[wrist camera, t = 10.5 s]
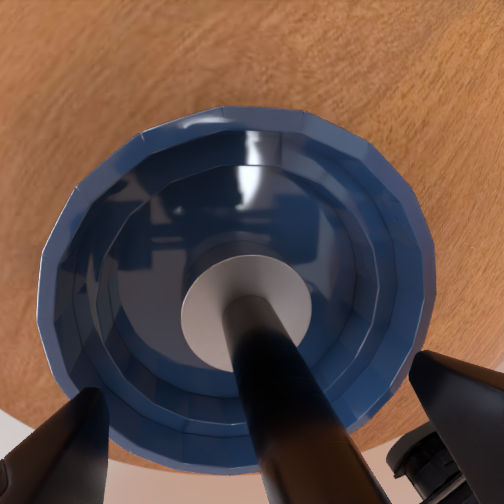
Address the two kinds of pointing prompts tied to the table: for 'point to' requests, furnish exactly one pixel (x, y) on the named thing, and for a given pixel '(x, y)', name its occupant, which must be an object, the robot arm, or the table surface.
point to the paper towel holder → (273, 374)
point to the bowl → (217, 233)
